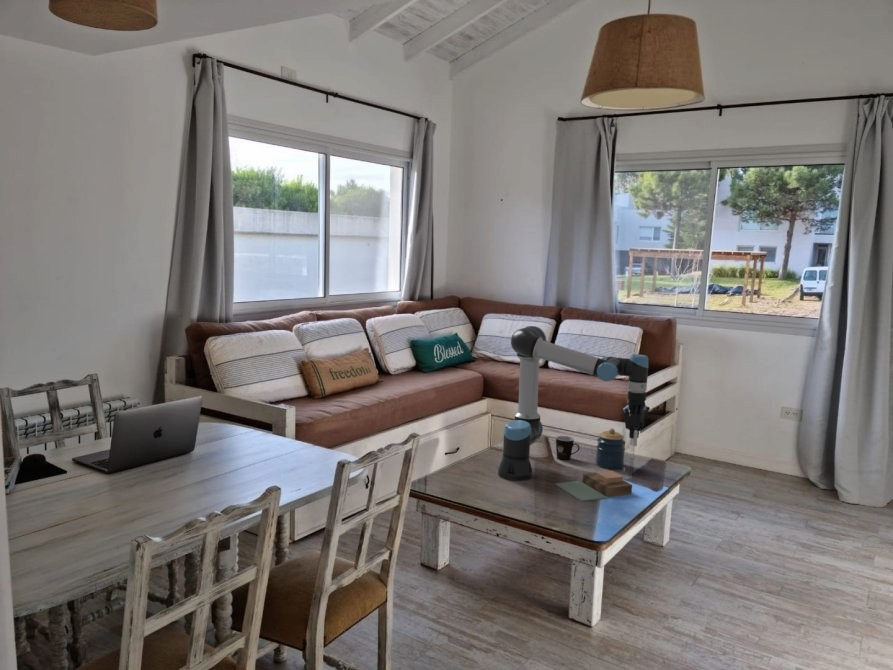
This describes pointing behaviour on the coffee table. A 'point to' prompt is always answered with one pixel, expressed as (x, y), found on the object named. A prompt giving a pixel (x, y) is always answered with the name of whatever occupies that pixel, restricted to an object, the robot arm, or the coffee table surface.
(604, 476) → the terracotta tile
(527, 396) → the robot arm
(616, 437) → the canister
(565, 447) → the coffee mug
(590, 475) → the block
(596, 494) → the sage mat
